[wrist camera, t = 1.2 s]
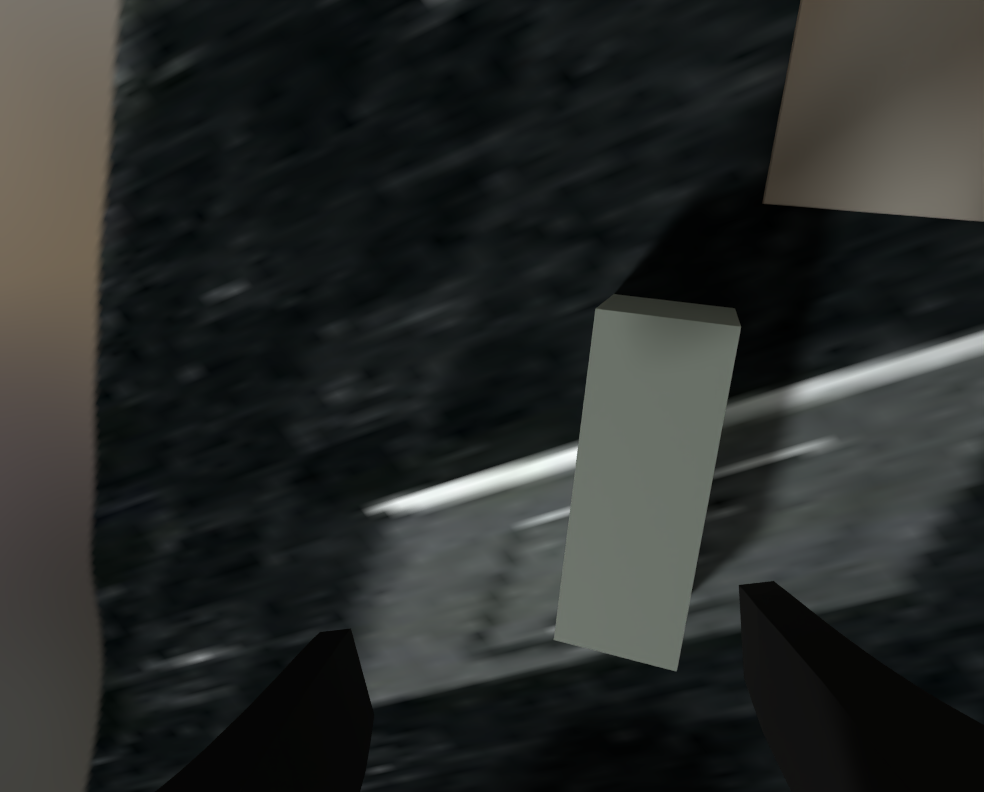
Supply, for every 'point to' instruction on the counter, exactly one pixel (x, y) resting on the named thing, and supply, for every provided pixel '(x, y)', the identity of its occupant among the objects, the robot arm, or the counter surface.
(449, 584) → the counter surface
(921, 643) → the counter surface
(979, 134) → the arch base
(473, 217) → the counter surface
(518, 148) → the counter surface
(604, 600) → the lintel
